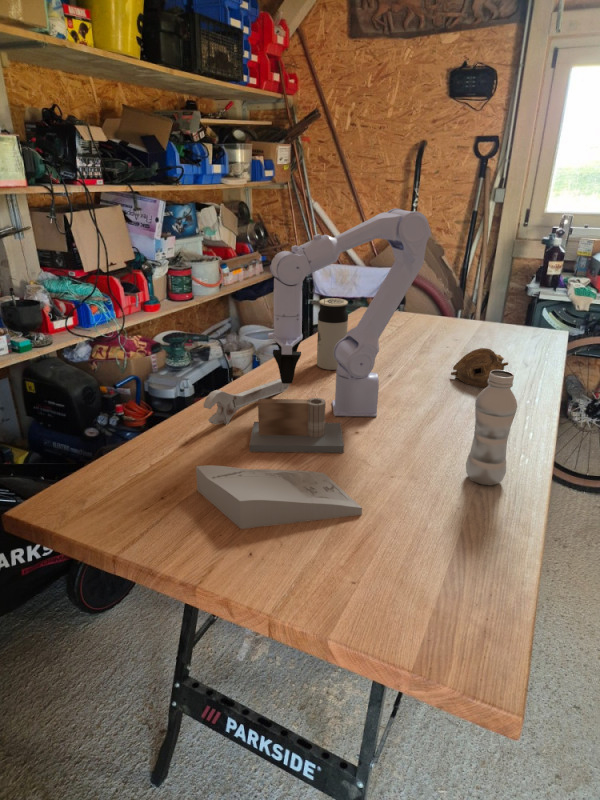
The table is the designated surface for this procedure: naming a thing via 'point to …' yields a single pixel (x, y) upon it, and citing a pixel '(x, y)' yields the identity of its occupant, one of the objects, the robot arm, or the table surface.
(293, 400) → the door
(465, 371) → the lumpy brown dome
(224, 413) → the wrench
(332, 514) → the ramp
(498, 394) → the plastic bottle
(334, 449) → the hinge board
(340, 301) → the travel mug
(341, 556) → the table surface
